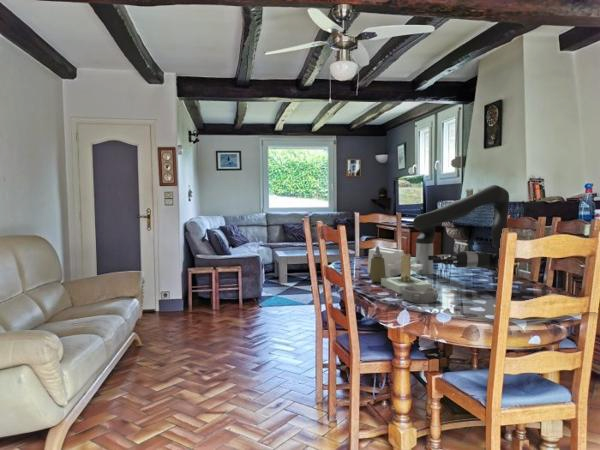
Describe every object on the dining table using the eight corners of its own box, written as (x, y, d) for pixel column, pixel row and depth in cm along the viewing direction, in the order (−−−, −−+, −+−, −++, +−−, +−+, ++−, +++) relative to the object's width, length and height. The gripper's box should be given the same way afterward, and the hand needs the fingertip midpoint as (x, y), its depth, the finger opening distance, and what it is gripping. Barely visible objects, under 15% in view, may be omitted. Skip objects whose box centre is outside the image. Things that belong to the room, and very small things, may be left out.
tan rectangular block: (399, 287, 202) (399, 253, 201) (407, 287, 203) (407, 253, 202) (403, 289, 198) (403, 255, 197) (412, 288, 199) (412, 254, 198)
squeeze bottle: (388, 281, 218) (388, 246, 217) (380, 283, 212) (380, 247, 211) (375, 279, 223) (375, 245, 222) (366, 281, 217) (366, 246, 216)
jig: (381, 285, 208) (381, 277, 208) (411, 283, 212) (411, 275, 212) (399, 293, 189) (399, 285, 189) (431, 291, 192) (432, 283, 192)
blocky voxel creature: (407, 285, 216) (360, 275, 234) (428, 278, 234) (383, 269, 253) (409, 256, 214) (362, 248, 232) (430, 251, 233) (385, 244, 251)
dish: (399, 296, 184) (399, 285, 184) (431, 296, 184) (431, 285, 183) (406, 305, 170) (406, 292, 169) (441, 304, 169) (442, 292, 169)
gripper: (460, 249, 205) (426, 249, 206) (471, 253, 191) (434, 253, 192) (460, 264, 206) (426, 264, 207) (470, 270, 192) (434, 269, 192)
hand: (430, 259), depth 199 cm, fingers open, 8 cm apart
